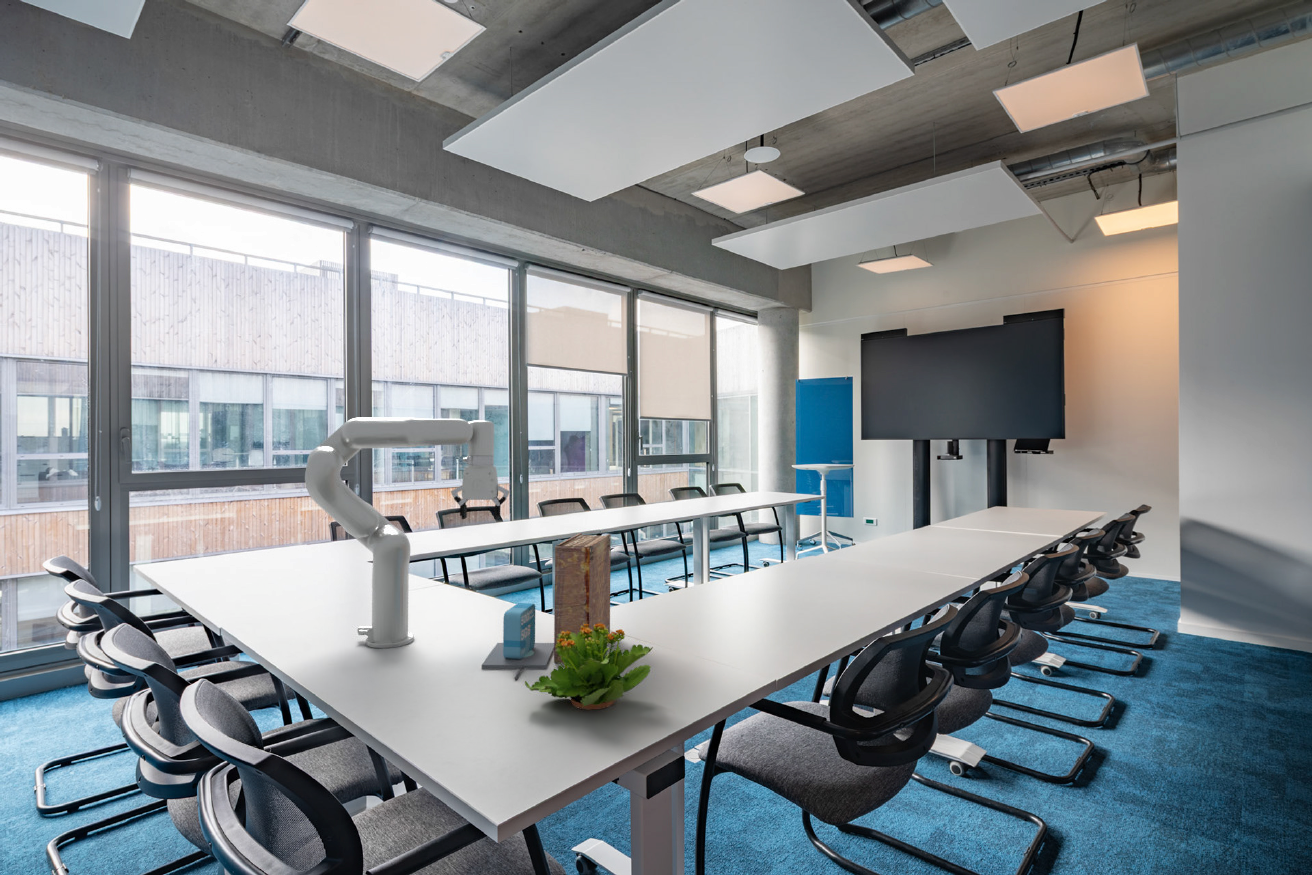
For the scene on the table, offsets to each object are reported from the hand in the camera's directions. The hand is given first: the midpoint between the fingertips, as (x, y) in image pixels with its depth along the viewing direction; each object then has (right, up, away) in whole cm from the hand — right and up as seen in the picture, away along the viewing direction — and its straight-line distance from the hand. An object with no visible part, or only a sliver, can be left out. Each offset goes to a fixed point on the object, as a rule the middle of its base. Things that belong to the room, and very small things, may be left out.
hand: (480, 518), depth 198 cm
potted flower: (+40, -34, -53) cm, 75 cm away
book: (+33, -34, -17) cm, 50 cm away
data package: (+17, -33, -25) cm, 44 cm away
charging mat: (+17, -33, -29) cm, 47 cm away
